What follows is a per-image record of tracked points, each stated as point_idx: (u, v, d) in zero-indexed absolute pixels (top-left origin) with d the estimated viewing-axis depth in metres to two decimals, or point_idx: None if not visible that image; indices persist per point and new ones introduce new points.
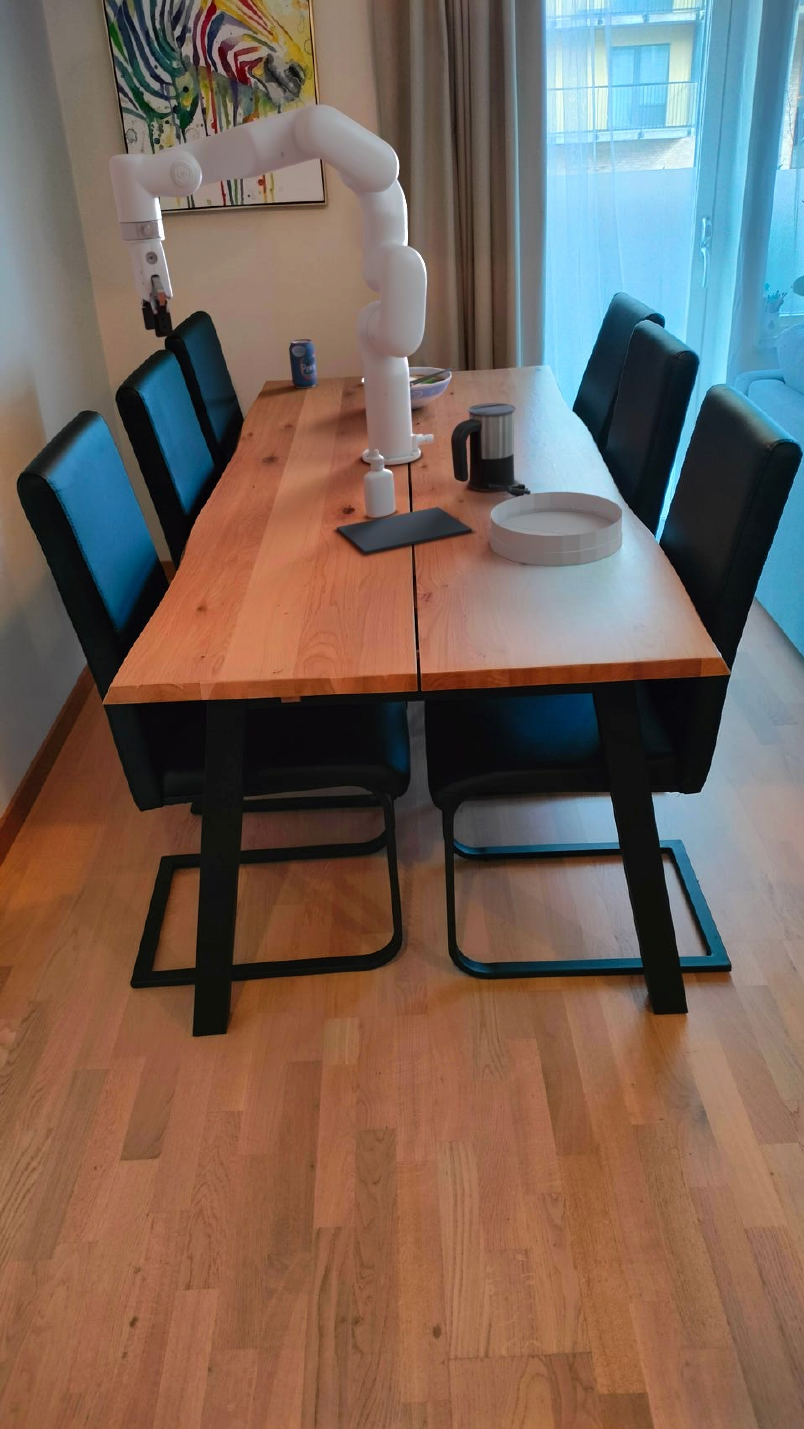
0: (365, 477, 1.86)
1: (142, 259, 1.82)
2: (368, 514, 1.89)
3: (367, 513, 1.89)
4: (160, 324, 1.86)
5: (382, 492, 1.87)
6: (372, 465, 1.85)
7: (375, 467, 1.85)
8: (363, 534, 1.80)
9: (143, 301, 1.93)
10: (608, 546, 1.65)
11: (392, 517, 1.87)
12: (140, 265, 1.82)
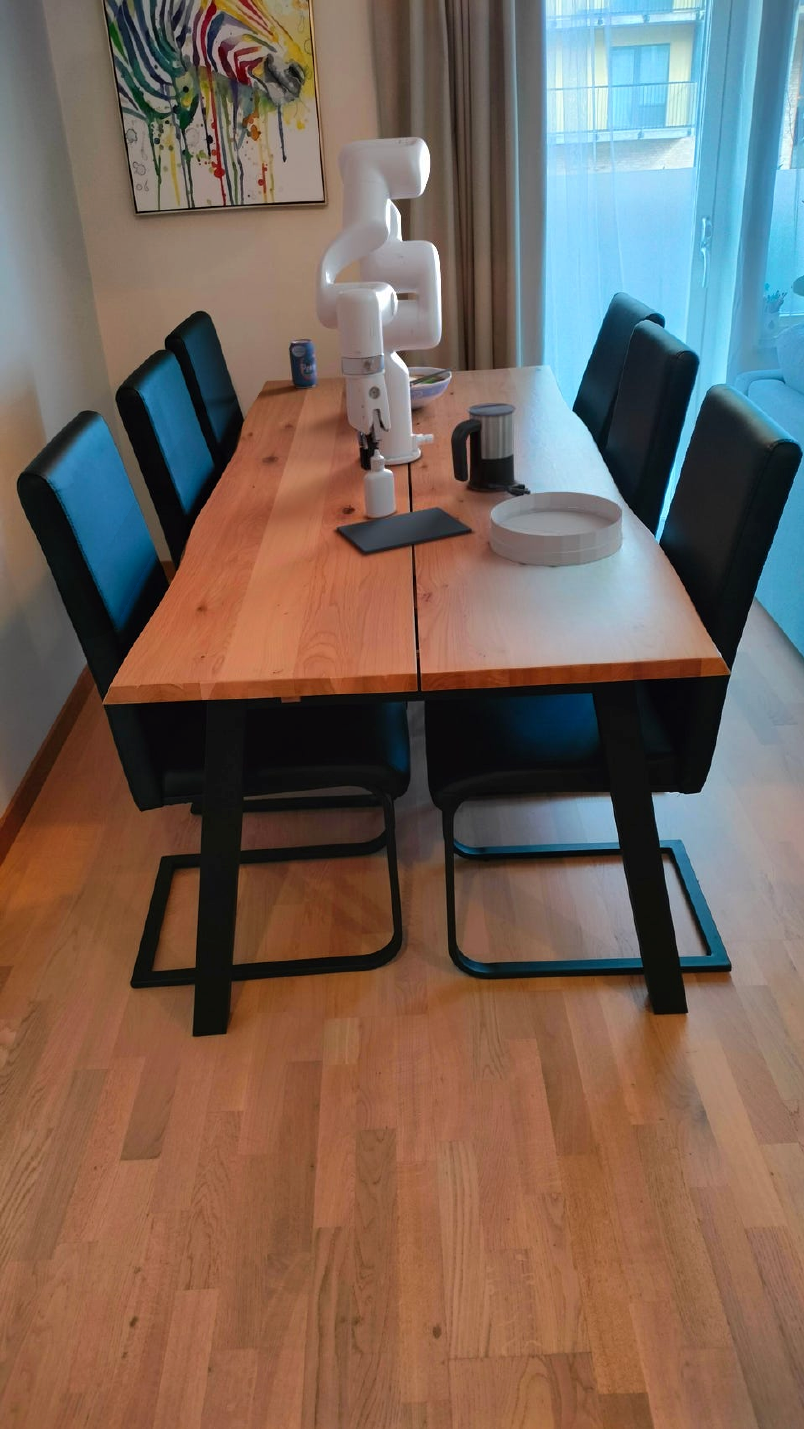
0: (365, 477, 1.86)
1: (365, 394, 1.78)
2: (368, 514, 1.89)
3: (367, 513, 1.89)
4: (369, 458, 1.87)
5: (382, 492, 1.87)
6: (372, 465, 1.85)
7: (375, 468, 1.85)
8: (363, 534, 1.80)
9: (360, 436, 1.87)
10: (608, 546, 1.65)
11: (392, 517, 1.87)
12: (362, 400, 1.79)
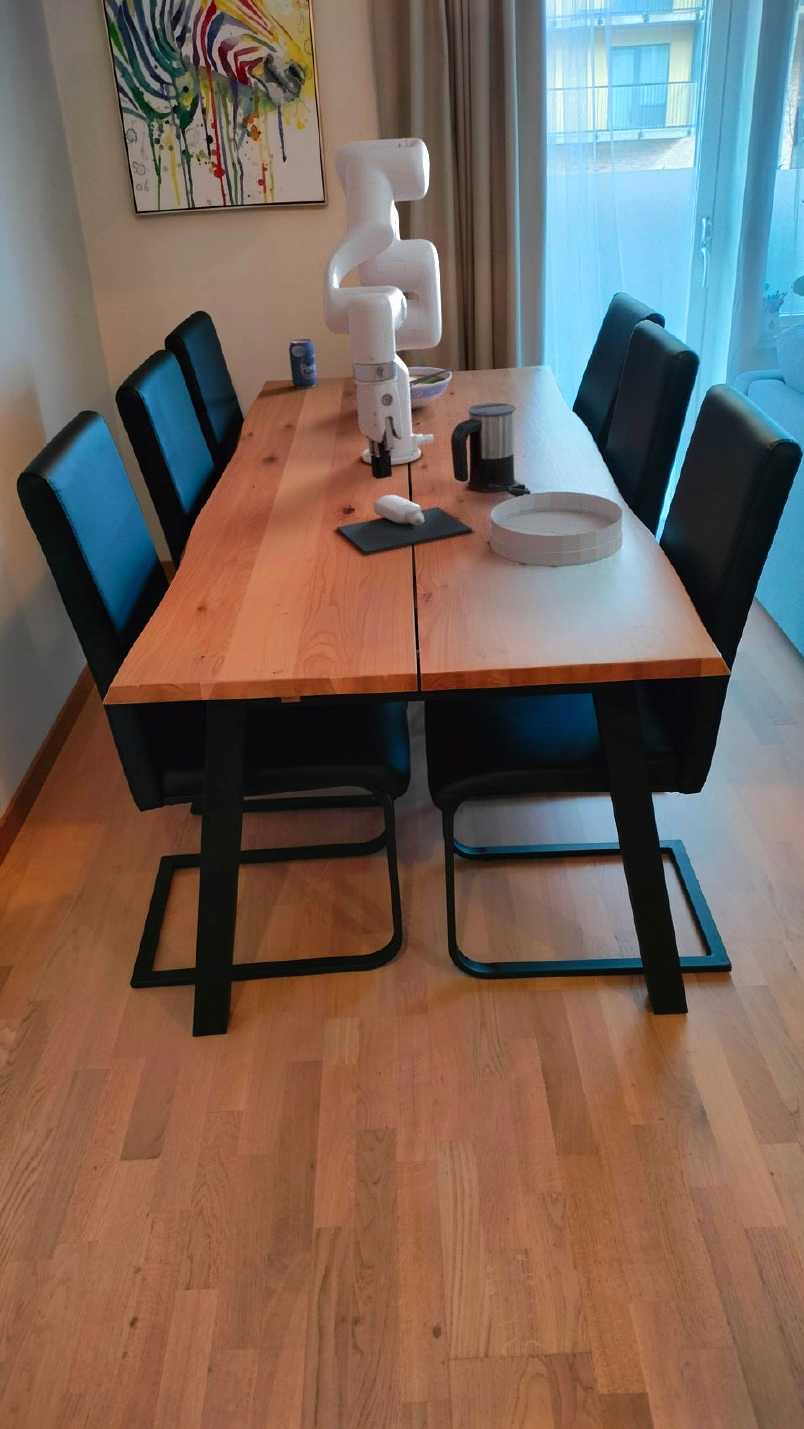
0: (396, 516, 1.81)
1: (377, 401, 1.74)
2: (374, 508, 1.87)
3: (375, 507, 1.86)
4: (381, 466, 1.83)
5: None
6: (409, 519, 1.81)
7: (409, 521, 1.81)
8: (363, 534, 1.80)
9: (372, 444, 1.82)
10: (608, 546, 1.65)
11: None
12: (374, 407, 1.74)
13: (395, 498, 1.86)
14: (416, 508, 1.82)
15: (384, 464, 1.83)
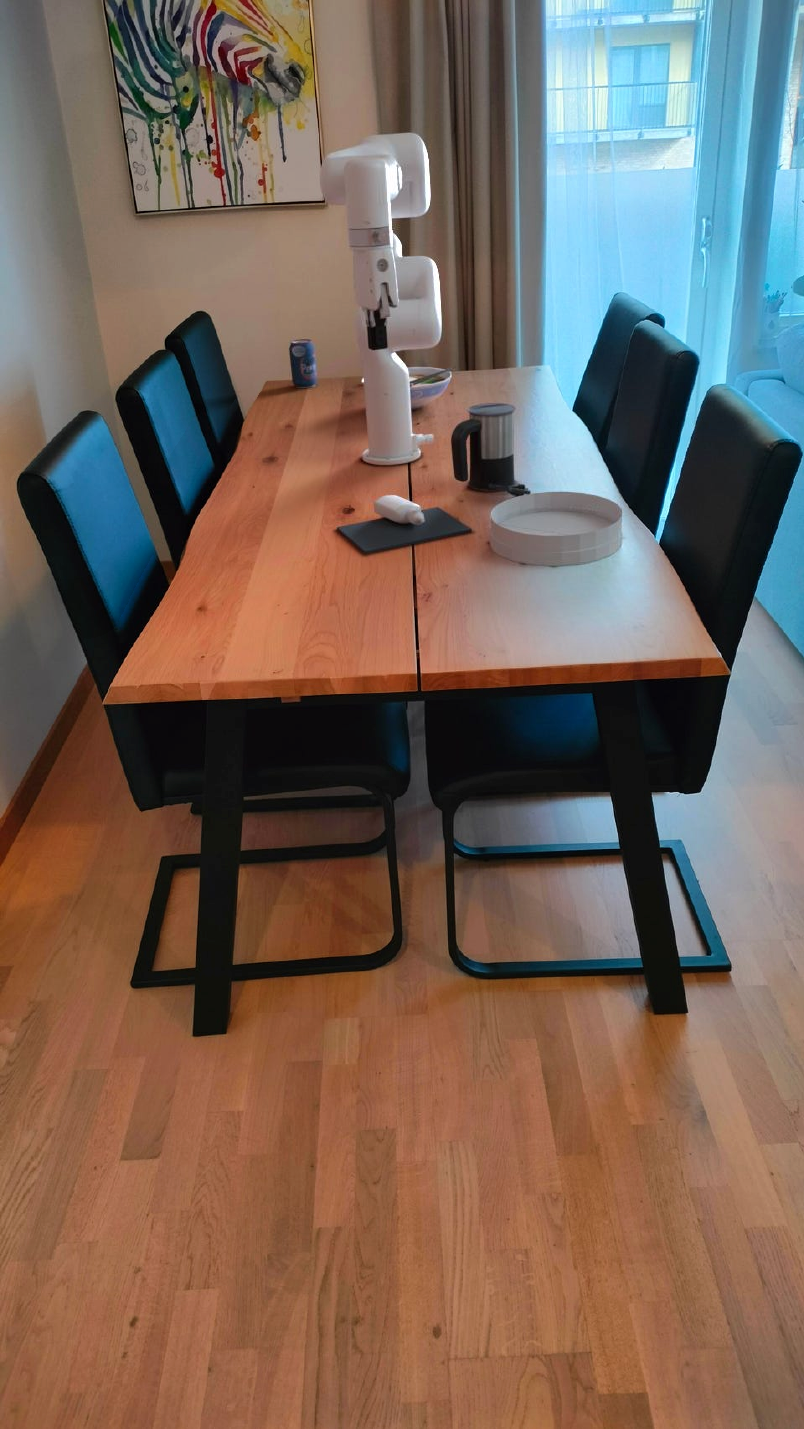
0: (396, 515, 1.81)
1: (373, 266, 1.76)
2: (375, 508, 1.87)
3: (375, 506, 1.86)
4: (377, 337, 1.85)
5: None
6: (409, 518, 1.81)
7: (409, 521, 1.81)
8: (363, 534, 1.80)
9: (367, 315, 1.85)
10: (608, 546, 1.65)
11: None
12: (370, 273, 1.77)
13: (396, 498, 1.86)
14: (416, 508, 1.82)
15: (380, 335, 1.85)
